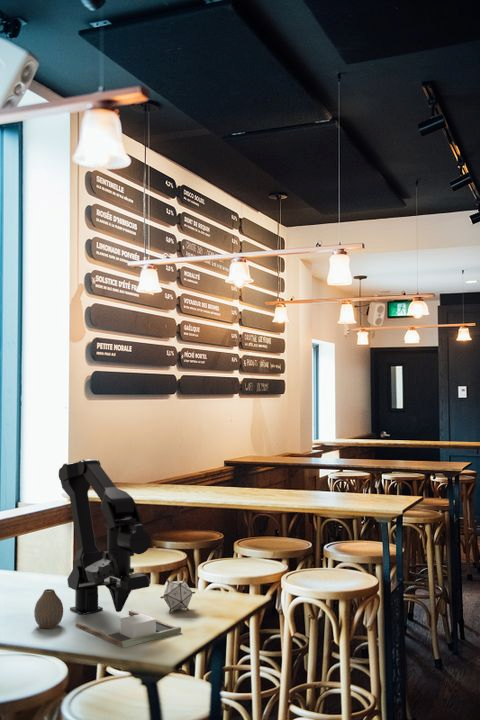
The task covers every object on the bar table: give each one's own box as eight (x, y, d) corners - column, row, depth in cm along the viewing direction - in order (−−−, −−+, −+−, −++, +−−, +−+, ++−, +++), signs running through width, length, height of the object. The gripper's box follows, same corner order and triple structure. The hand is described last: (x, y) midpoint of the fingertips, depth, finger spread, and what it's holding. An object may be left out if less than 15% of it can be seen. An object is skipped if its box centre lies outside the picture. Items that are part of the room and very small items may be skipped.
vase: (38, 621, 191) (39, 586, 192) (66, 622, 191) (66, 586, 192) (30, 630, 184) (30, 593, 185) (58, 630, 184) (59, 593, 185)
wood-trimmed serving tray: (75, 626, 188) (75, 621, 188) (131, 613, 198) (131, 608, 198) (123, 647, 172) (123, 642, 172) (180, 632, 182) (180, 627, 183)
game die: (182, 626, 200) (188, 601, 194) (153, 612, 202) (158, 587, 196) (196, 601, 207) (202, 577, 202) (167, 589, 209) (173, 564, 204)
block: (120, 635, 181) (120, 618, 181) (141, 630, 185) (141, 613, 185) (134, 641, 177) (134, 624, 177) (155, 636, 180) (155, 619, 181)
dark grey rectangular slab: (106, 637, 179) (106, 635, 179) (155, 625, 188) (155, 623, 188) (120, 643, 175) (120, 641, 175) (170, 630, 184) (170, 628, 184)
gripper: (71, 546, 191) (70, 609, 190) (111, 558, 177) (110, 626, 176) (109, 540, 198) (109, 601, 197) (151, 551, 184) (150, 617, 183)
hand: (118, 611), depth 188 cm, fingers closed
